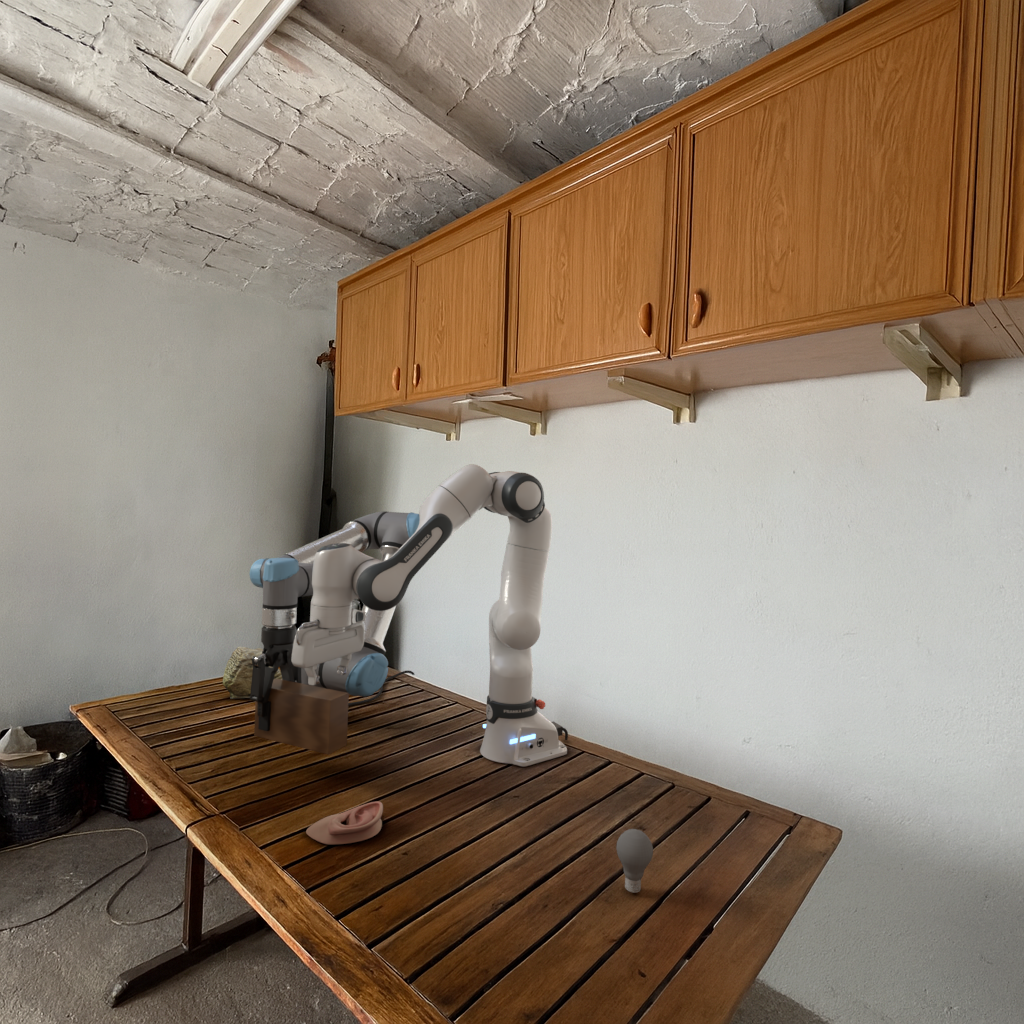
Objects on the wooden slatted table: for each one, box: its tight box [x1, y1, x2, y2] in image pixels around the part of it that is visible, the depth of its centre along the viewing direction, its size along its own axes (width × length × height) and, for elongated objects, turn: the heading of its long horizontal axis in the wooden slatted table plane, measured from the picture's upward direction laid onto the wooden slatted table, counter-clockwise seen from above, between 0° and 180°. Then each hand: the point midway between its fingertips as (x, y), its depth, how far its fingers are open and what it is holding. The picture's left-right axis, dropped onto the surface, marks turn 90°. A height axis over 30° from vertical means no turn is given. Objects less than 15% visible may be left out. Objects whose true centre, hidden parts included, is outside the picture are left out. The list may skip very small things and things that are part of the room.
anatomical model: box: [305, 800, 384, 846], centre depth 121 cm, size 13×4×12 cm
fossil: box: [222, 646, 282, 699], centre depth 198 cm, size 9×18×15 cm, turn 132°
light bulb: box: [615, 828, 654, 894], centre depth 106 cm, size 6×6×10 cm
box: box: [253, 679, 350, 755], centre depth 143 cm, size 21×6×12 cm, turn 66°
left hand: (275, 724), depth 146 cm, fingers closed on box, 6 cm apart
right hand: (328, 679), depth 140 cm, fingers open, 8 cm apart
